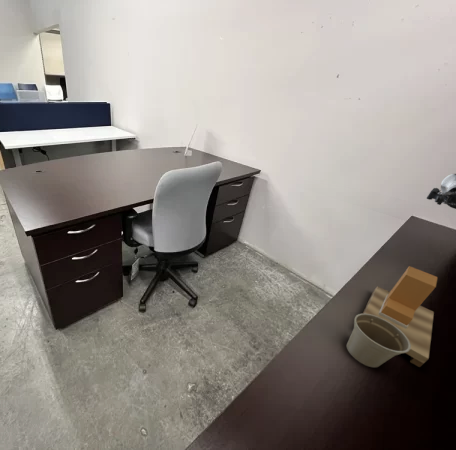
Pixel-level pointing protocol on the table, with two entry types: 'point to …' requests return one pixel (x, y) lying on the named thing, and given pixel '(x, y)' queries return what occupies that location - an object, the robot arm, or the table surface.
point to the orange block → (407, 296)
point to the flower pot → (376, 340)
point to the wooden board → (416, 329)
